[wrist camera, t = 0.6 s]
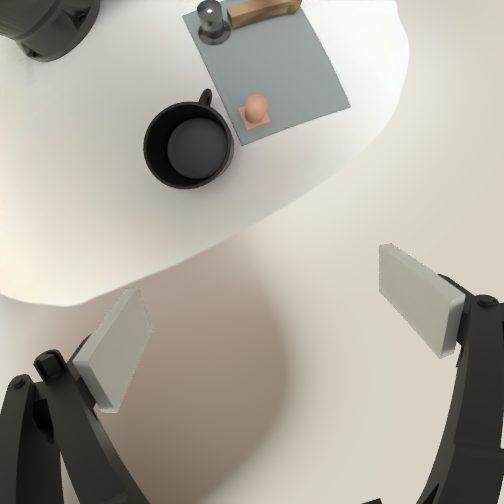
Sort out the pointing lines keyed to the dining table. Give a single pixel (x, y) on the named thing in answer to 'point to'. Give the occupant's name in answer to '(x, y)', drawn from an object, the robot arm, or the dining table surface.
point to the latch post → (254, 111)
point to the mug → (188, 144)
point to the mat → (271, 71)
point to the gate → (259, 10)
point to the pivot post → (212, 23)
